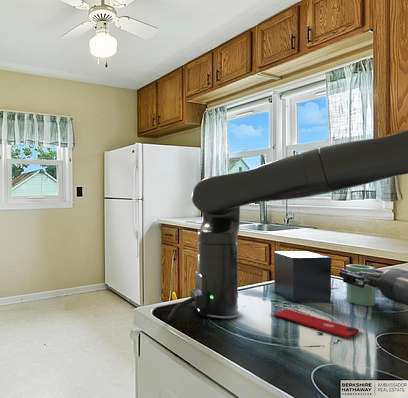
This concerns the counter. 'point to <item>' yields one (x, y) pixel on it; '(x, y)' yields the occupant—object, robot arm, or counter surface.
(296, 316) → the electronic device
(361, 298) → the jar
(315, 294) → the dark gray box
